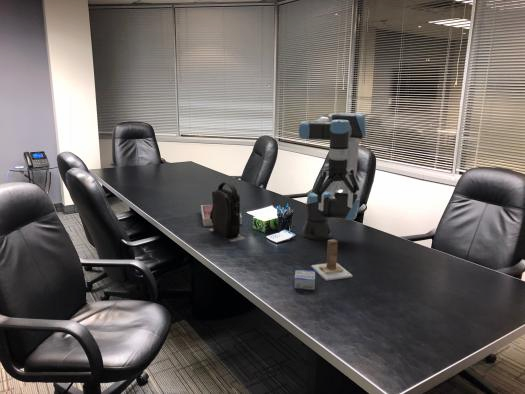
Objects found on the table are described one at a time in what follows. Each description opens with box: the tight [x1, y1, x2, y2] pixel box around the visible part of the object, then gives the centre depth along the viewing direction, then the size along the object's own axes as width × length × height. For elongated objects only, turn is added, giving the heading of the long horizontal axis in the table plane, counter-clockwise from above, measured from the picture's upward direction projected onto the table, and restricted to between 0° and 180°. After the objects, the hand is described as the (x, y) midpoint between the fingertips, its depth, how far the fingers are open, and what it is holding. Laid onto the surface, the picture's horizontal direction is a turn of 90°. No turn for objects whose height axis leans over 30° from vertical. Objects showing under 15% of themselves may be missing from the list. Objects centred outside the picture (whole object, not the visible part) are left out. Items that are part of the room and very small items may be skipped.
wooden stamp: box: [319, 238, 343, 274], centre depth 173 cm, size 6×8×13 cm
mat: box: [311, 262, 353, 282], centre depth 174 cm, size 14×12×1 cm
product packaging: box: [200, 204, 243, 227], centre depth 246 cm, size 22×28×5 cm
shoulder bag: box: [209, 181, 246, 243], centre depth 216 cm, size 23×9×28 cm, turn 37°
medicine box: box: [293, 269, 316, 291], centre depth 162 cm, size 8×4×9 cm
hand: (335, 208), depth 174 cm, fingers open, 13 cm apart
